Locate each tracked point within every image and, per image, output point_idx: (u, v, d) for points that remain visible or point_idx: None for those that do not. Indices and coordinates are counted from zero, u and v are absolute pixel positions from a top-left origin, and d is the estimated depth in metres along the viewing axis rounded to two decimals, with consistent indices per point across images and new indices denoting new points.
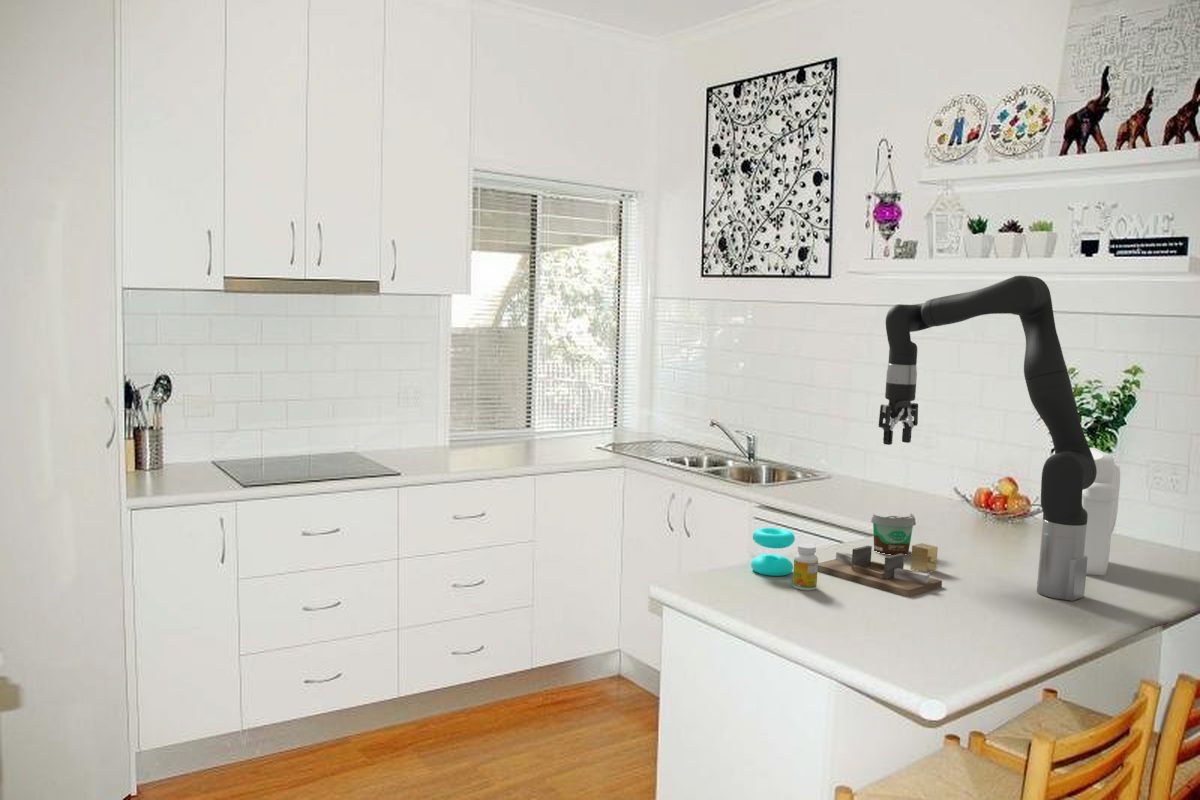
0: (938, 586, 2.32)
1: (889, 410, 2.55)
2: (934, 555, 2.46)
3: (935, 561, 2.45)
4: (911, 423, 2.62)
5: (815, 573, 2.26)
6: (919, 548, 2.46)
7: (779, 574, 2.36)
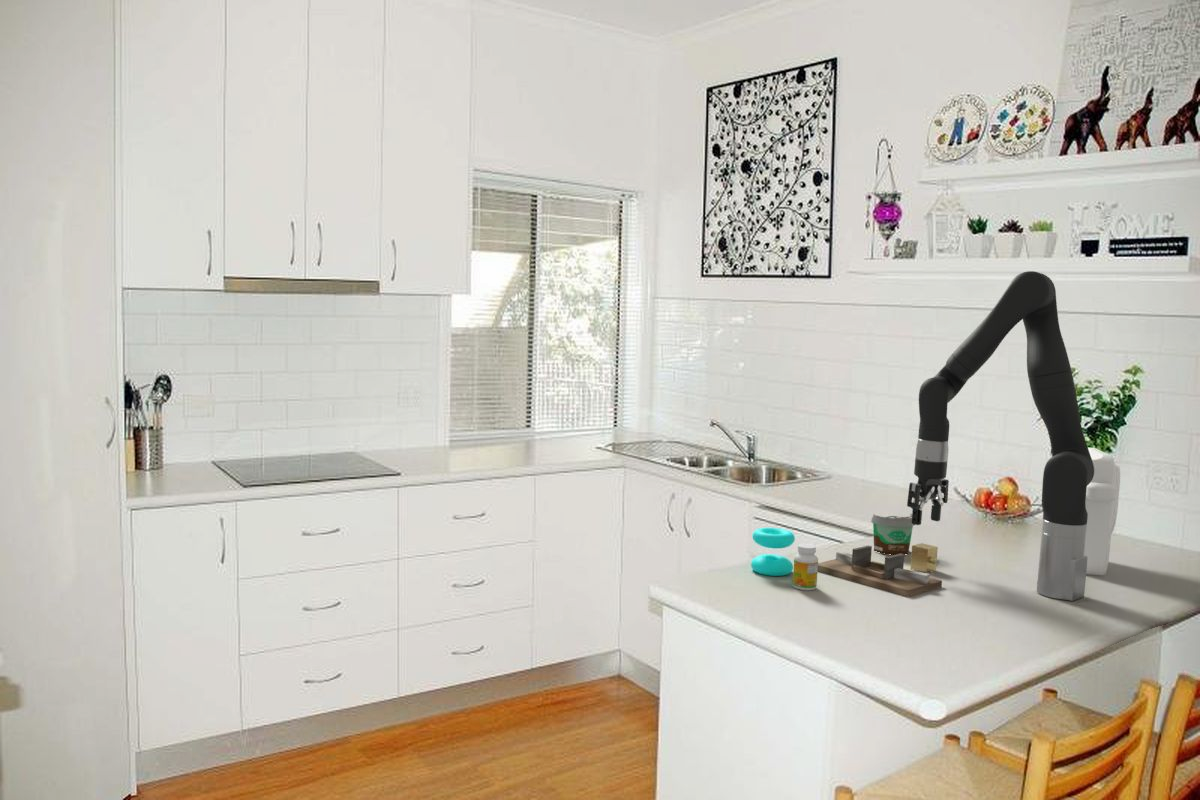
0: (938, 586, 2.32)
1: (919, 489, 2.41)
2: (934, 555, 2.46)
3: (935, 561, 2.45)
4: (941, 501, 2.48)
5: (815, 573, 2.26)
6: (919, 548, 2.46)
7: (779, 574, 2.36)
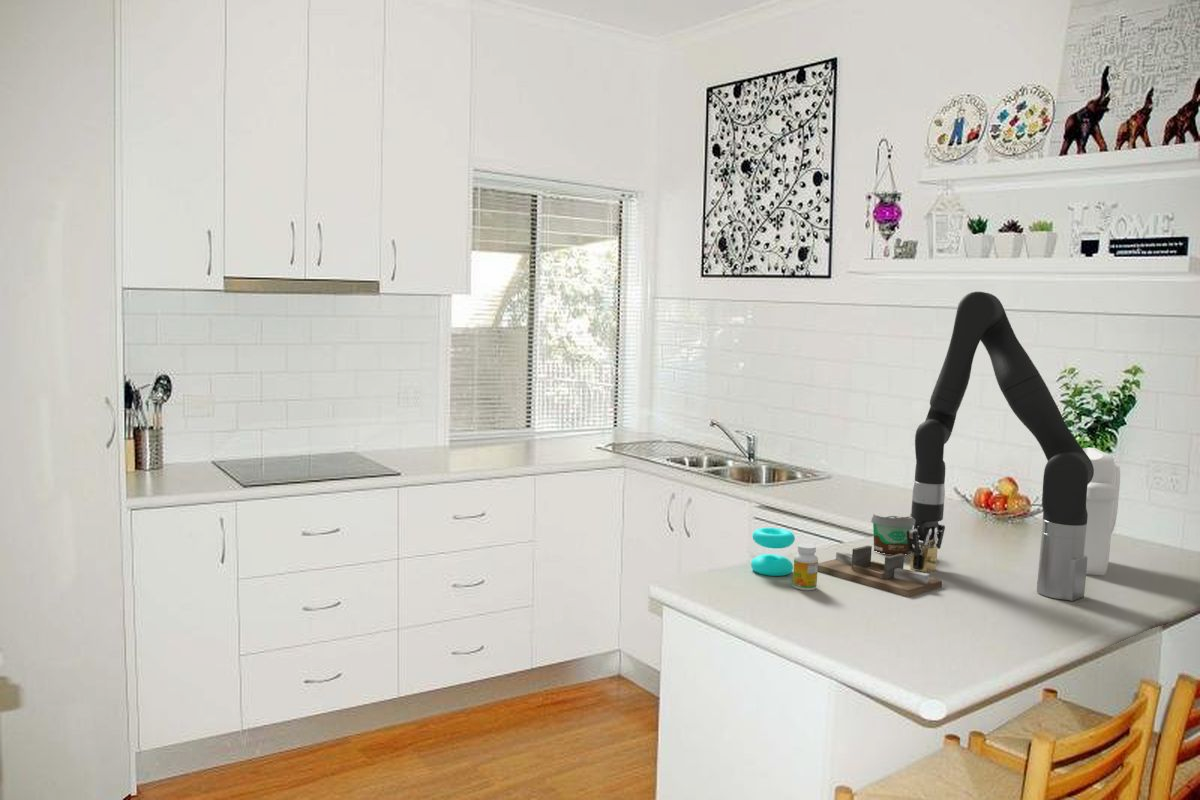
0: (938, 586, 2.32)
1: (916, 536, 2.42)
2: (934, 555, 2.46)
3: (935, 561, 2.45)
4: None
5: (815, 573, 2.26)
6: (919, 548, 2.46)
7: (779, 574, 2.36)
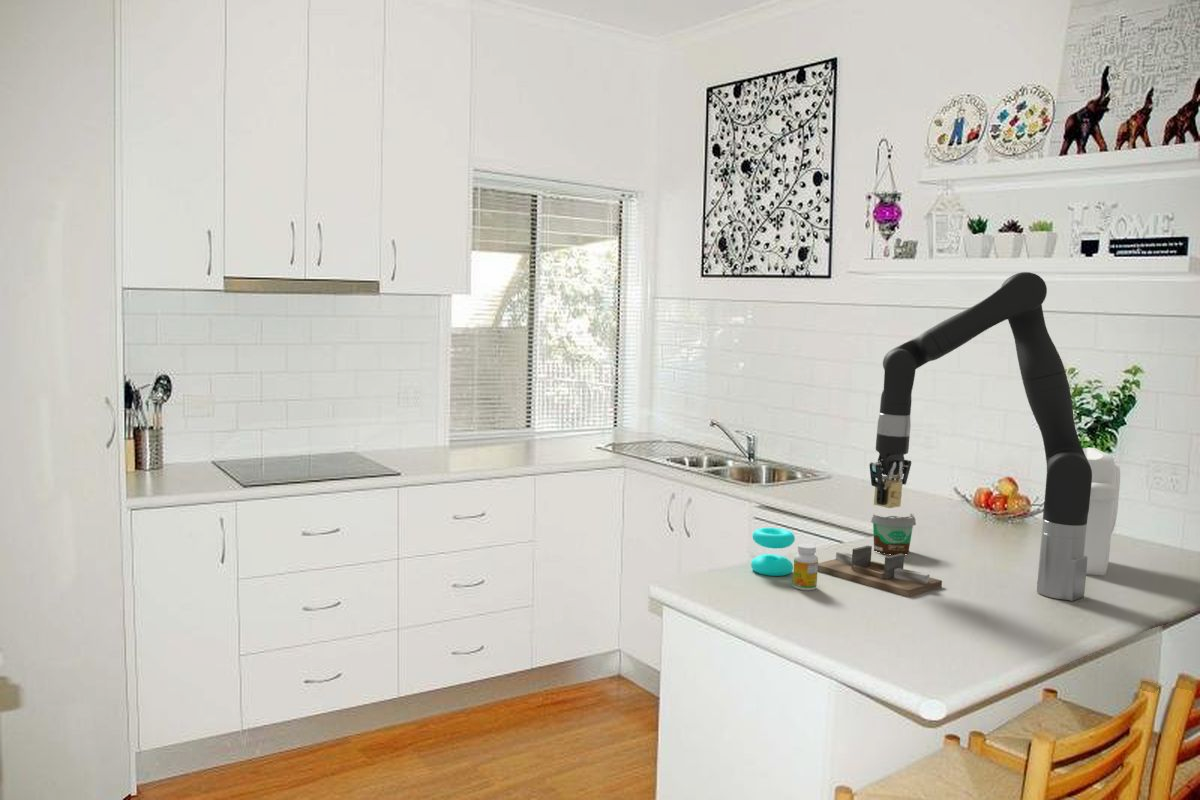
0: (938, 586, 2.32)
1: (879, 469, 2.33)
2: (898, 490, 2.37)
3: (899, 496, 2.36)
4: None
5: (815, 573, 2.26)
6: (883, 482, 2.37)
7: (779, 574, 2.36)
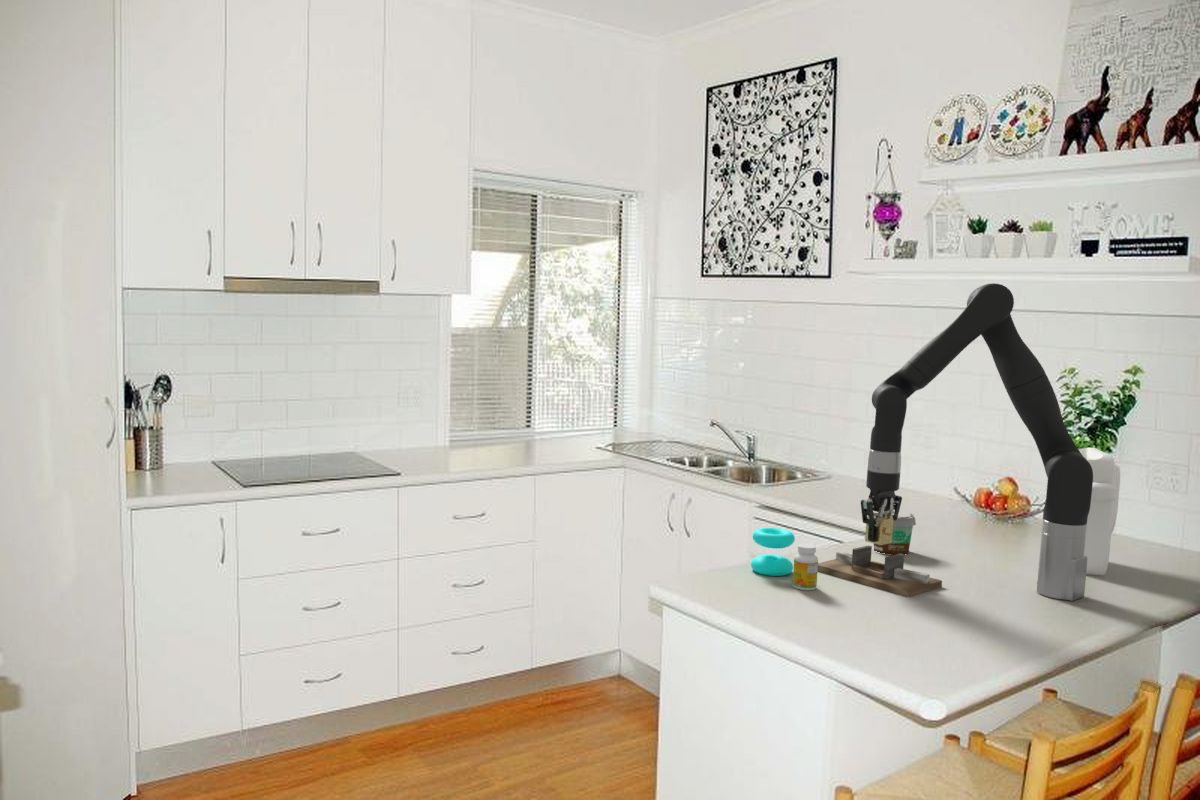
0: (938, 586, 2.32)
1: (871, 506, 2.32)
2: (889, 526, 2.36)
3: (890, 532, 2.35)
4: (891, 517, 2.38)
5: (815, 573, 2.26)
6: (874, 519, 2.36)
7: (779, 574, 2.36)
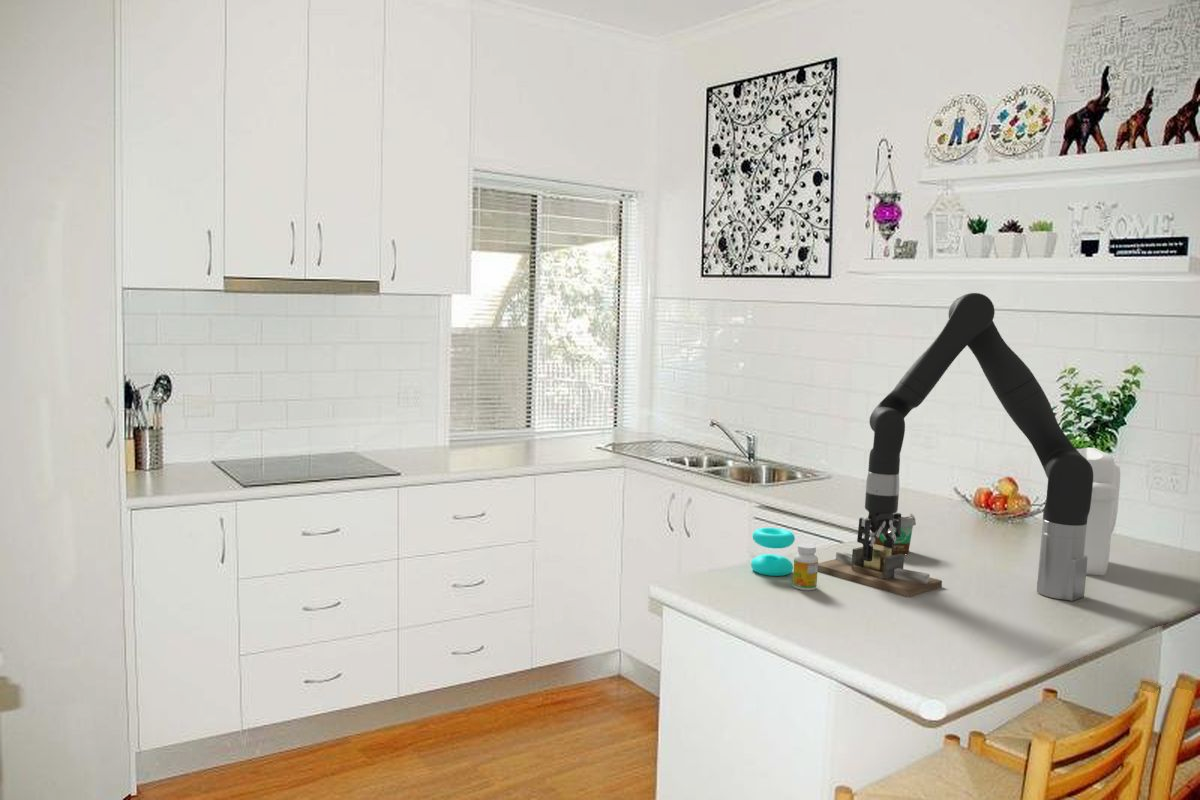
0: (938, 586, 2.32)
1: (869, 524, 2.32)
2: None
3: None
4: (893, 535, 2.39)
5: (815, 573, 2.26)
6: None
7: (779, 574, 2.36)
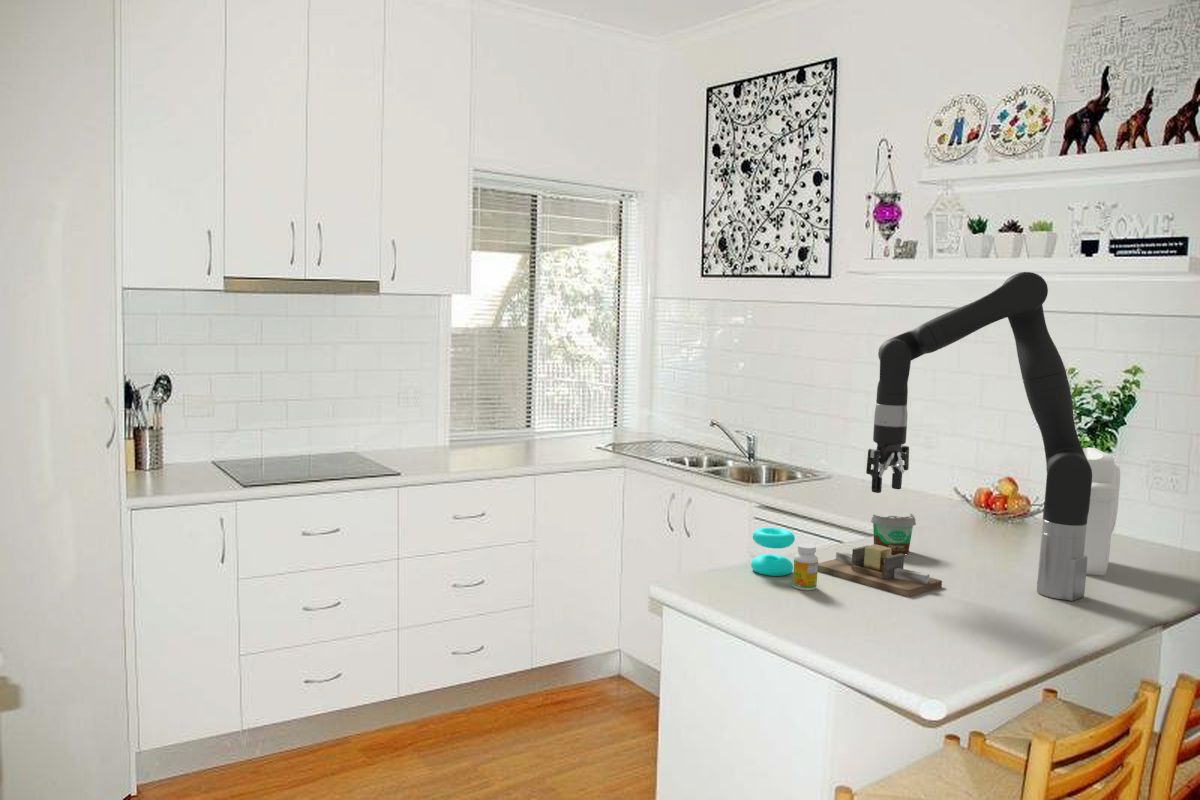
0: (938, 586, 2.32)
1: (878, 455, 2.32)
2: None
3: None
4: (901, 468, 2.39)
5: (815, 573, 2.26)
6: (872, 549, 2.36)
7: (779, 574, 2.36)
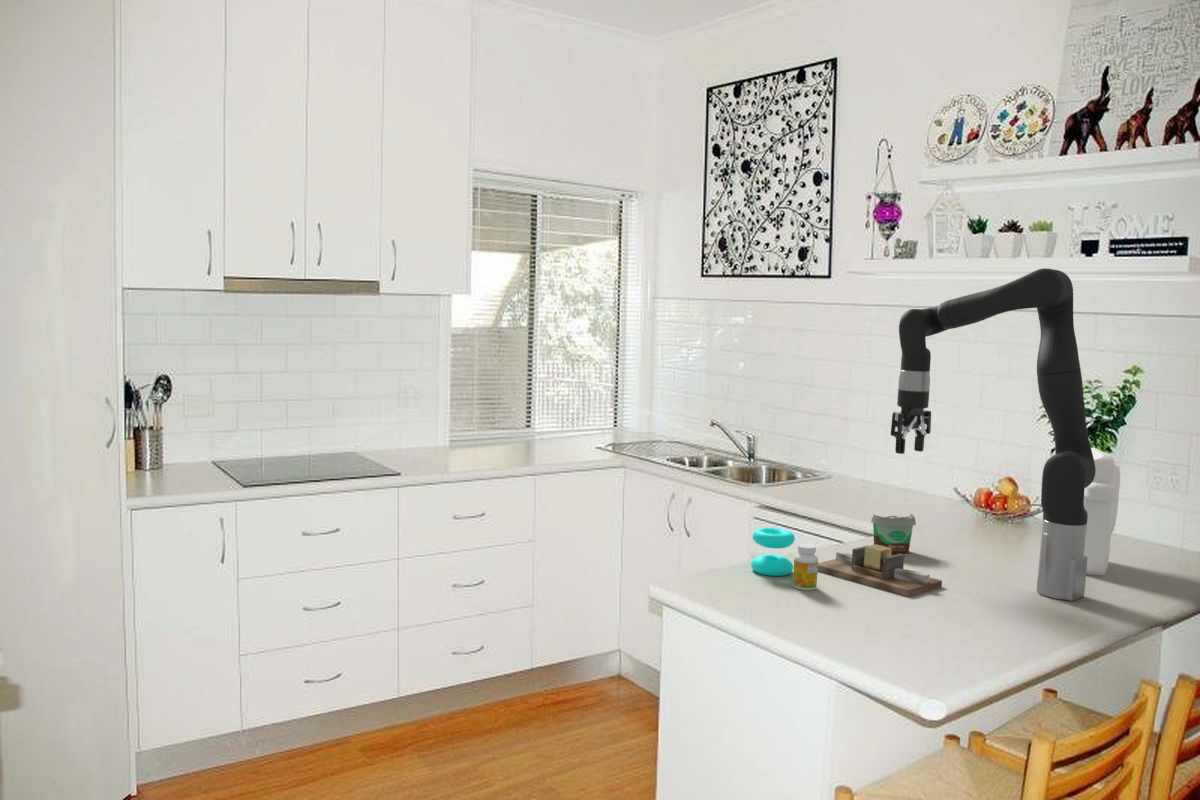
0: (938, 586, 2.32)
1: (902, 418, 2.47)
2: None
3: None
4: (924, 431, 2.54)
5: (815, 573, 2.26)
6: (872, 549, 2.36)
7: (779, 574, 2.36)
